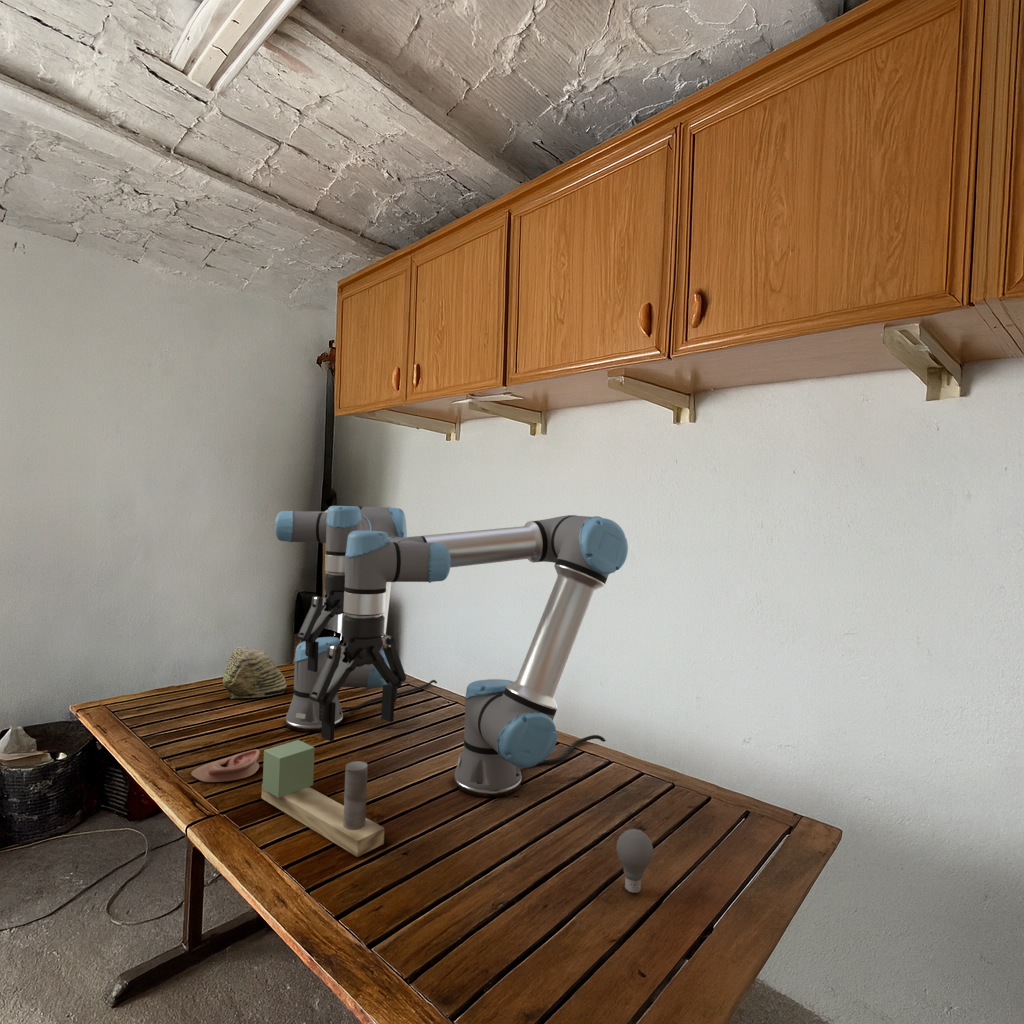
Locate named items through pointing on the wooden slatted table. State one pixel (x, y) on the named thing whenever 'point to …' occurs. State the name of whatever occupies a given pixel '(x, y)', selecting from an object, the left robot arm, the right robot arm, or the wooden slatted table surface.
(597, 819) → the wooden slatted table surface
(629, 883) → the light bulb
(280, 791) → the green block
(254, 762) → the anatomical model
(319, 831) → the birch board
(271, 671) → the fossil
